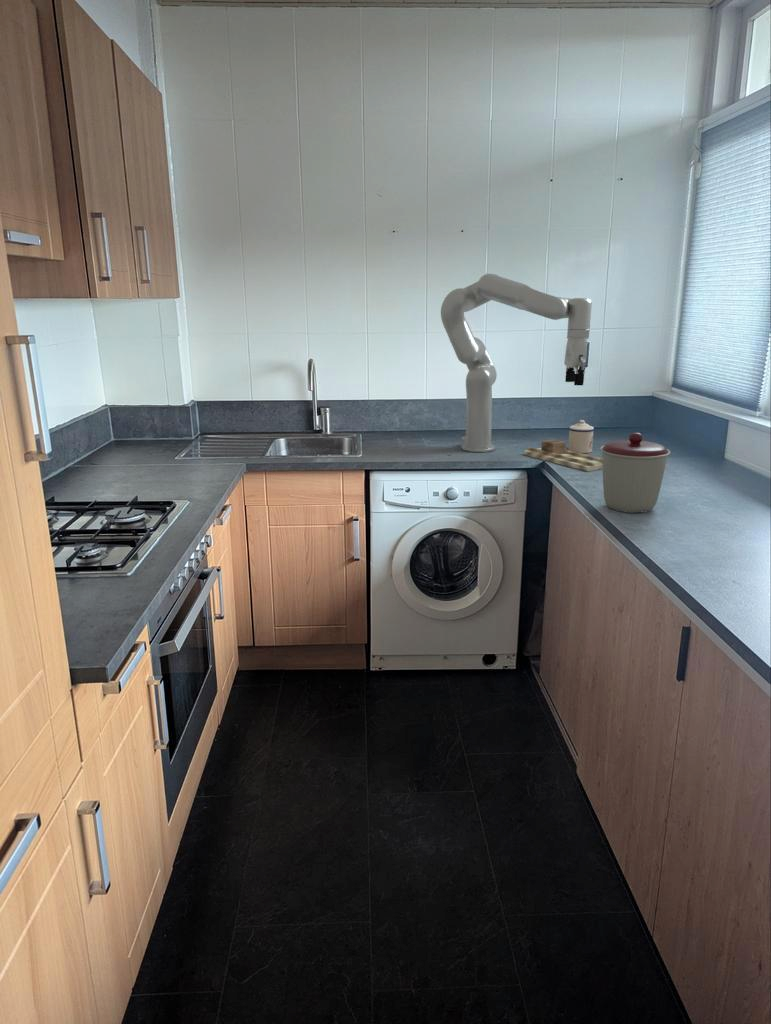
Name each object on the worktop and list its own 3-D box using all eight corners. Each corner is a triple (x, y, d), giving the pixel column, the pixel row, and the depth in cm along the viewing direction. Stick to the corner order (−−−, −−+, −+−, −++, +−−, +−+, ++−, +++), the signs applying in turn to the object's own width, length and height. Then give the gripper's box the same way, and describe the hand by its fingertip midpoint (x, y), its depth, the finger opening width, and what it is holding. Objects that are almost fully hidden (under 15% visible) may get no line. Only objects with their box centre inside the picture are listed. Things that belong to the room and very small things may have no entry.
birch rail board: (523, 454, 269) (524, 447, 268) (548, 450, 274) (548, 444, 274) (587, 471, 242) (588, 464, 241) (613, 467, 248) (613, 459, 247)
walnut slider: (541, 451, 265) (541, 441, 263) (553, 450, 268) (554, 439, 266) (552, 454, 260) (553, 443, 258) (565, 452, 263) (565, 441, 261)
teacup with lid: (595, 453, 268) (597, 422, 265) (570, 454, 269) (572, 422, 265) (587, 447, 280) (589, 417, 277) (563, 447, 280) (565, 417, 277)
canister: (679, 513, 196) (687, 436, 190) (623, 520, 190) (630, 441, 184) (634, 496, 212) (641, 425, 206) (582, 503, 206) (587, 429, 200)
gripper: (560, 333, 264) (556, 380, 269) (575, 336, 248) (571, 386, 253) (580, 333, 265) (576, 380, 270) (597, 336, 248) (592, 386, 253)
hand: (574, 383), depth 261 cm, fingers open, 9 cm apart
